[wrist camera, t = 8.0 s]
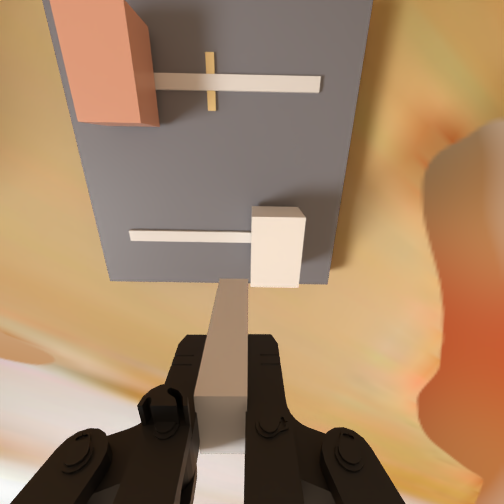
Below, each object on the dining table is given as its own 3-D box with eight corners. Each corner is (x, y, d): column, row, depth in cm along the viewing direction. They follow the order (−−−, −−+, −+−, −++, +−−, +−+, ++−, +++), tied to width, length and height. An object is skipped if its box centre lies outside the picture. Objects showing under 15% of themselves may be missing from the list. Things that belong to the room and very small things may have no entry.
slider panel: (122, 269, 27) (108, 282, 25) (66, 8, 18) (35, -15, 16) (321, 272, 27) (328, 285, 25) (358, 15, 19) (375, -6, 16)
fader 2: (250, 267, 24) (250, 286, 20) (251, 206, 21) (251, 216, 18) (292, 268, 24) (298, 287, 20) (297, 206, 21) (305, 217, 18)
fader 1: (107, 125, 19) (77, 121, 16) (88, 25, 16) (48, -4, 13) (159, 126, 19) (140, 122, 16) (148, 26, 16) (122, -3, 13)
